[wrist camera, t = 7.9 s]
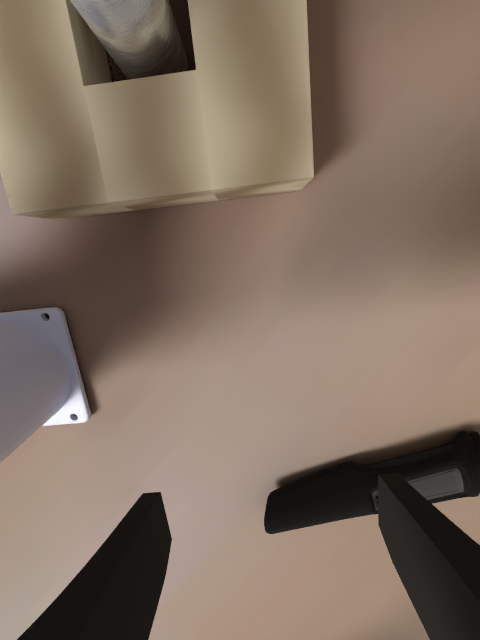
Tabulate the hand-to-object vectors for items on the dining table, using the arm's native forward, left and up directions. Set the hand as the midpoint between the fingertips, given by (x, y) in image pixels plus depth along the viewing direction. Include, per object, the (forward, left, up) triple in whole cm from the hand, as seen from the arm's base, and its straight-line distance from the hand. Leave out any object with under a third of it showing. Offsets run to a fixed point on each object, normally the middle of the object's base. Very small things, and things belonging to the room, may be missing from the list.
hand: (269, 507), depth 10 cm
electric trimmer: (+7, -9, -10) cm, 15 cm away
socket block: (-4, +18, -10) cm, 21 cm away
